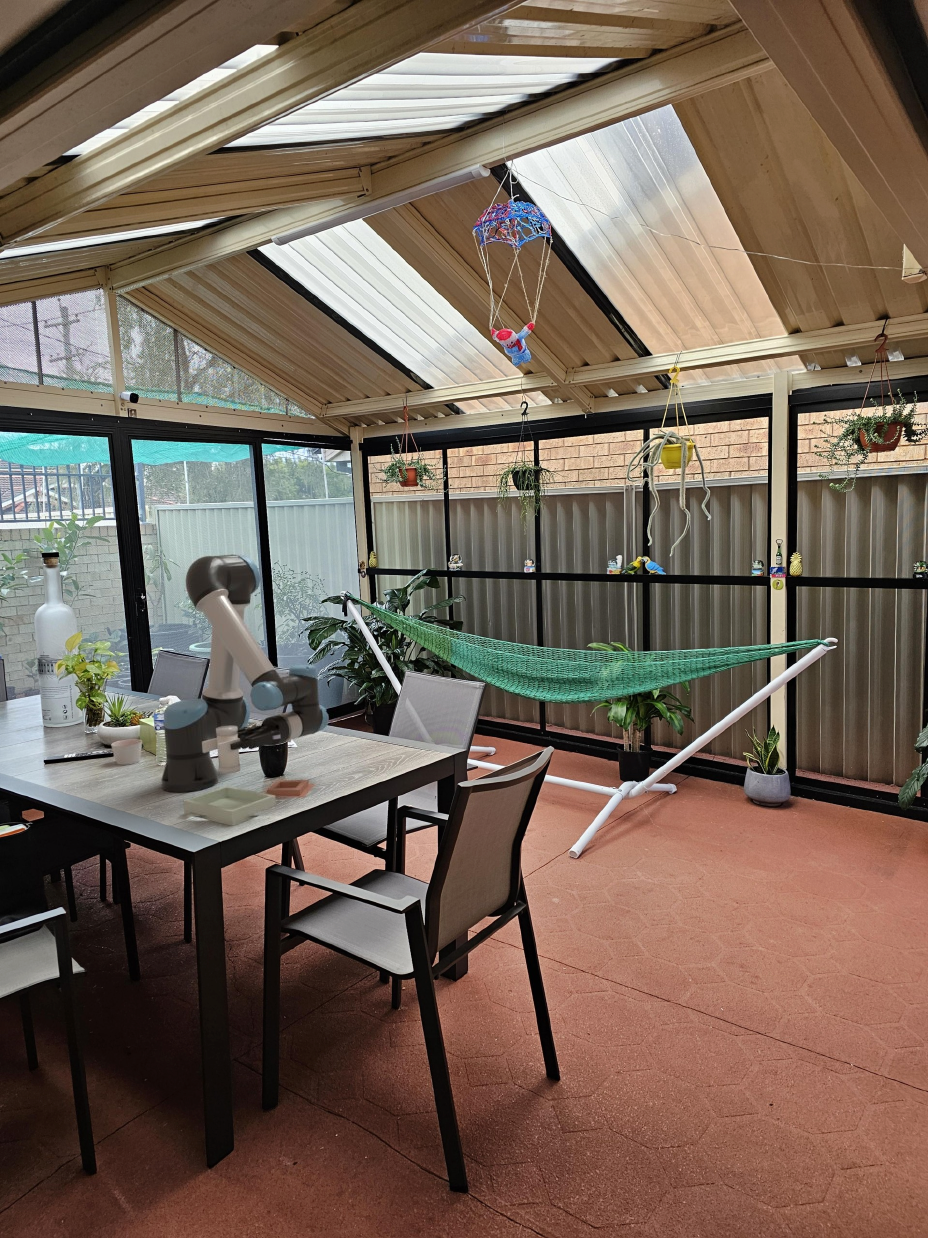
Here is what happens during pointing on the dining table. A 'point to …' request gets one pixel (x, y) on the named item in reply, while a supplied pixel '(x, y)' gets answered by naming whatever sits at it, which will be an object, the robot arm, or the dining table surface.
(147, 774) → the dining table surface
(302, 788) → the orange square coaster
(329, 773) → the dining table surface
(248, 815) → the tray
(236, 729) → the cylinder
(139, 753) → the pink cup
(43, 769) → the dining table surface
